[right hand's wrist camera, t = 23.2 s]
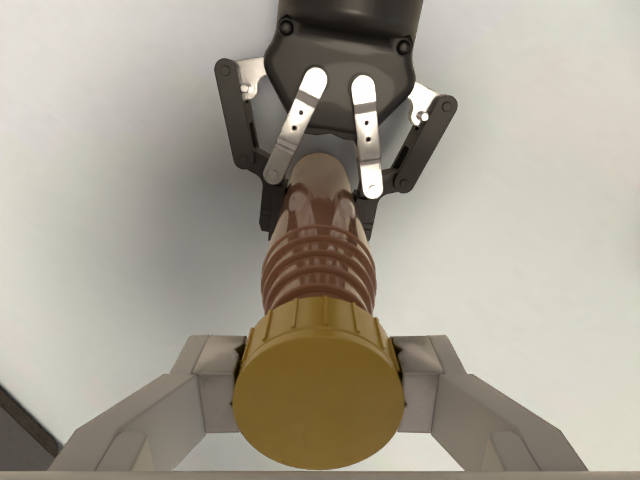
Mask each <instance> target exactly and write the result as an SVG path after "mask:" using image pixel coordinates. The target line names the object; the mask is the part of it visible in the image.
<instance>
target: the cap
mask: <svg viewBox="0 0 640 480" xmlns="http://www.w3.org/2000/svg"><path fill="white" fill-rule="evenodd" d="M398 372H401V371H400V368H399V364H398V361H397V357H396V353H395V350H394V347H393V343H392V340H391V338H388V336H387V334H386V332H385V330H384V329H383V327H382V326H381V325H380V323H379V320H378V318H377V317H375V318H374V317H373V316H372V315H370V314H369V313H368V312H367V311H365V310H364V309H362V308H360V307H358V306H357V305H356V303H354V302H352V303H350V302H347V301H344V300H341V299H336V298H331V297H327V296H326V295H324V297H306V298H301V299H298V298H294V300H293V301H289V302H287V303H285V304H283V305H280V306H279V307H277V308H275V309H274V310H271V309H270V310H269V311H268V314H267V315H265V316H264V317H263V318H262V319H261V320H260V321H259V322H258V323H257V325H256V326H255V328H251V329H250V333H249V337H248V340H247V344H246V347H245V351H244V354H243V358H242V360H241V361H240V369H239V373H238V376H237V380H236V383H235V387H234V390H233V397H232V408H233V414H234V418H235V421H236V423H237V426H238V428H239V430H240V431H241V433H242V435H243V436H244V437H245V439H246V440H247V441H248V442H249V443H250V444H251V445H252V446H253V447H254V448H255V449H256V450H258V451H259V452H260V453H262V454H263V455H265V456H267V457H268V458H270V459H272V460H274V461H276V462H279V463H282V464H284V465H287V466H291V467H295V468H300V469H308V470H329V469H336V468H341V467H346V466H349V465H352V464H355V463H358V462H360V461H362V460H365V459H367V458H368V457H370V456H372V455H373V454H375V453H376V452H378V451H379V450H380V449H382V448H383V447H384V446H385V445H386V444H387V443H388V442H389V441H390V440H391V438H392V437H393V436H394V434H395V433H396V431H397V429H398V427H399V426H400V423H401V420H402V417H403V413H404V404H405V398H404V392H403V387H402V384H401V381H400V377H399V373H398Z"/></svg>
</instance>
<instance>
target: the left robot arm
mask: <svg viewBox="0 0 640 480" xmlns="http://www.w3.org/2000/svg"><path fill="white" fill-rule="evenodd" d="M422 4H423V0H279V6H278V16H277V26H276V32H275V35H274V38H273V40H272V42H271V44H270V45H269V47H268V48H267V50H266V52H265V55H264V57H259V58H252V59H246V60H239V61H233V60H230V59H226V58H223V59H220V60H219V61H217V63H216V64H215V68H214V71H215V76H216V81H217V85H218V90H219V95H220V99H221V104H222V108H223V113H224V118H225V122H226V127H227V131H228V136H229V141H230V145H231V150H232V155H233V159H234V163H235V164H236V166H237V167H239V168H240V169H247V170H249V171H251V172H253V173H255V174H256V175H258V176H259V177H260V179H261V180H262V183H263V190H262V200H261V210H260V220H259V224H260V227H261V230H262V231H267V232H269V236H268V241H270V240H271V237H272V234H273V231H274V228H275V225H276V222H277V218H278V215H279V212H280V209H281V206H282V203H283V199H284V196H285V193H286V190H287V184H288V179H285V175H286V171H287V169H288V166H289V164H290V162H291V160H292V158H293V155H294V153H295V151H296V149H297V147H298V145H299V143H300V140H301V138H302V136H303V134H304V133H307V134H313V135H321V134H333V135H336V136H338V137H340V138H342V139H346V140H352V141H354V148H355V154H356V160H357V168H358V176H359V184H358V189H357V190H354V191H353V197H354V200H355V203H356V206H357V209H358V213H359V216H360V219H361V222H362V225H363V229H364V232H365V235H366V238H367V241H369V240H370V237H371V232H372V228H373V223H374V218H375V213H376V209H377V204H378V201H379V199H380V198H381V197H382V196H384V195H386V194H389V193H394V192H400V193H408V192H410V191H411V190H412V189H413V187H414V185H415V184H416V182H417V180H418V178H419V176H420V175H421V173H422V171H423V169H424V167H425V166H426V164H427V162H428V160H429V159H430V157H431V155H432V153H433V151H434V150H435V148H436V146H437V144H438V143H439V141H440V139H441V137H442V135H443V134H444V132H445V130H446V128H447V126H448V125H449V123H450V121H451V119H452V118H453V116H454V114H455V112H456V110H457V101H456V99H455V98H454V97H452V96H450V95H445V94H438V93H436V92H434V91H433V90H431V89H429V88H427V87H425V86H423V85H421V84H419V83H417V82H415V81H416V77H415V72H414V68H413V63H412V52H413V47H414V42H415V37H416V32H417V27H418V23H419V18H420V13H421V9H422ZM266 75H267V76H268V78H269V80H270V82H271V84H272V85H273V87H274V89H275V91H276V93H277V95H278V97H279V99H280V101H281V103H282V105H283V106H284V108H285V110H286V112H287V114H288V115H287V118H286V120H285V122H284V125H283V127H282V129H281V131H280V134H279V136H278V138H277V141H276V144H275V146H274V148H273V151H272V153H271V154H269V153H267V152H265V151H263V150H261V149H260V148H259V144H258V138H257V133H256V128H255V123H254V118H253V112H252V107H251V102H250V99H253V98H255V97H256V96H257V95H258V93H259V84H260V81H261V79H262V78H263V77H264V76H266ZM406 98H407V99H408V100H409V103H410V110H409V113H408V119H409V121H410V122H411V123H412V124H413V126H412V128H411V130H410V132H409V134H408V136H407V138H406V140H405V142H404V143H403V145H402V147H401V149H400V151H399V153H398V155H397V157H396V159H395V160H394V162H393V164H392V166H391V168H390V169H385V170H381V163H380V159H381V152H380V142H379V132H378V126H379V125H380V124H381V123H382V122H383V121H384V120H385V119H386V118H387V117H388V116H389V115H390V114H391V113H392V112H393V111H394V110H395V109H396V108H397V107H398V106H399V105H400V104H401V103H402V102H403V101H404V100H405V99H406Z"/></svg>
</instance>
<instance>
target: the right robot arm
mask: <svg viewBox="0 0 640 480" xmlns="http://www.w3.org/2000/svg"><path fill="white" fill-rule="evenodd" d="M390 338H391V340H392V343H393V347H394V350H395V353H396V357H397V361H398V364H399V368H400V371H401V372H398V373H399V377H400V381H401V384H402V387H403V392H404V398H405V404H404V413H403V417H402V420H401V423H400V426H399V427H398V429H397V432H409V433H431V435H432V436H433V437H434V438H435V439H436V440H437V441H438V442H439V444H440V445H441V446H442V447H443V448H444V449H445V450H446V451H447V452H448V453H449V454H450V455H451V456H452V457H453V458H454V460H455V461H456V462H457V463H458V464H459V465H460V466H461V467H462V468H463V469H464V470H465V471H172V470H173V469H174V468H175V467H176V466H177V465H178V464H179V462H180V461H181V460H182V459H183V458H184V457H185V456H186V455H187V454H188V453H189V452H190V451H191V450H192V449H193V448H194V447H195V446H196V445H197V444H198V442H199V441H200V440H201V439H202V438H203V437H204V436H205V433H227V432H239V431H240V430H239V428H238V426H237V423H236V421H235V418H234V414H233V408H232V397H233V390H234V387H235V383H236V380H237V376H238V373H239V369H240V361H241V360H242V358H243V354H244V351H245V347H246V344H247V340H248V339H247V337H246V336H222V335H210V336H209V335H192V336H190V337H189V338H188V340H187V342H186V344H185V346H184V347H183V349H182V351H181V353H180V355H179V357H178V359H177V361H176V363H175V364H174V366H173V368H172V370H171V372H170V374H163V375H162V376H160V377H159V378H157V379H155V380H154V381H152V382H151V383H149V384H148V385H146V386H144V387H143V388H141V389H140V390H138V391H136V392H135V393H133V394H132V395H130V396H129V397H127V398H125V399H124V400H122V401H121V402H119V403H118V404H116V405H114V406H113V407H111V408H110V409H108V410H106V411H105V412H103V413H102V414H100V415H99V416H97V417H95V418H94V419H92V420H91V421H89V422H88V423H86V424H84V425H83V426H81V427H80V428H78V429H77V430H76V431H75V432H74V433H73V435H72V436H71V437H70V439H69V440H68V442H67V443H66V444H65V446H64V447H63V449H62V450H61V451H60V453H59V454H58V456H57V457H56V458H55V460H54V461H53V462H52V464H51V465H50V467H49V468H48V469H47V471H0V480H640V471H589V470H588V469H587V468H586V466H585V465H584V463H583V462H582V460H581V459H580V458H579V456H578V455H577V453H576V452H575V450H574V449H573V448H572V446H571V445H570V443H569V442H568V440H567V439H566V438H565V436H564V435H563V433H562V432H561V430H559V429H557V428H556V427H554V426H553V425H551V424H550V423H548V422H547V421H545V420H543V419H542V418H540V417H539V416H537V415H536V414H534V413H533V412H531V411H529V410H528V409H526V408H525V407H523V406H522V405H520V404H518V403H517V402H515V401H514V400H512V399H511V398H509V397H508V396H506V395H504V394H503V393H501V392H500V391H498V390H497V389H495V388H494V387H492V386H490V385H489V384H487V383H486V382H484V381H483V380H481V379H479V378H478V377H476V376H475V375H473V374H467V373H466V371H465V369H464V367H463V365H462V363H461V361H460V359H459V358H458V356H457V354H456V352H455V350H454V348H453V346H452V344H451V342H450V340H449V338H448V337H447V336H446V335H428V336H390Z"/></svg>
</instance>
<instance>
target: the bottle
mask: <svg viewBox="0 0 640 480" xmlns="http://www.w3.org/2000/svg"><path fill="white" fill-rule="evenodd" d="M376 289H377V283H376V270H375V264H374V261H373V258H372V254H371V251H370V248H369V245H368V241H367V238H366V235H365V232H364V229H363V225H362V222H361V219H360V216H359V213H358V209H357V206H356V203H355V200H354V197H353V193H352V190H351V187H350V184H349V180H348V177H347V174H346V171H345V169H344V167H343V165H342V164H341V162H340V161H339V160H338V159H336V158H335V157H334V156H332V155H330V154H326V153H319V152H318V153H312V154H309V155H306V156H305V157H303V158H302V159H300V160H299V161H298V162H297V164H296V165H295V167H294V169H293V171H292V174H291V177H290V181H289V184H288V187H287V190H286V193H285V196H284V199H283V203H282V206H281V209H280V212H279V215H278V218H277V222H276V225H275V228H274V231H273V234H272V237H271V240H270V244H269V247H268V250H267V253H266V256H265V259H264V263H263V267H262V278H261V294H262V298H263V307H264V311H265V315H267V314H268V311H269V310H270V309H271V310H274V309H275V308H277V307H279V306H280V305H283V304H285V303H287V302H289V301H293V300H294V298H298V299H301V298H306V297H324V295H326V296H327V297H331V298H336V299H341V300H344V301H347V302H350V303H352V302H354V303H356V305H357V306H358V307H360V308H362V309H364V310H365V311H367V312H368V313H369V314H370V315H372V316H373V309H374V304H375V296H376Z"/></svg>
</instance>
